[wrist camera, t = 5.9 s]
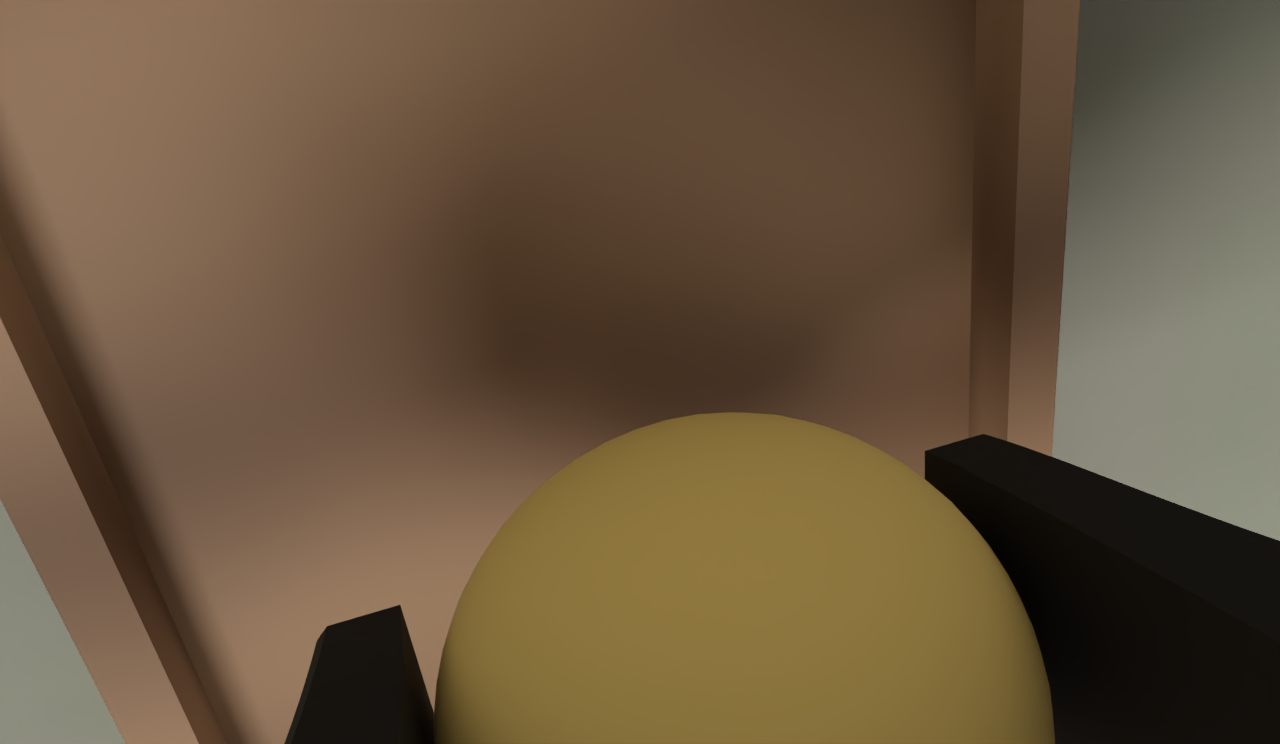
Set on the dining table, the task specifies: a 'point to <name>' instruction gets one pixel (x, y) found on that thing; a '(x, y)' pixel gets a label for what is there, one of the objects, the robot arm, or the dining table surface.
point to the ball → (740, 603)
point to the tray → (477, 285)
